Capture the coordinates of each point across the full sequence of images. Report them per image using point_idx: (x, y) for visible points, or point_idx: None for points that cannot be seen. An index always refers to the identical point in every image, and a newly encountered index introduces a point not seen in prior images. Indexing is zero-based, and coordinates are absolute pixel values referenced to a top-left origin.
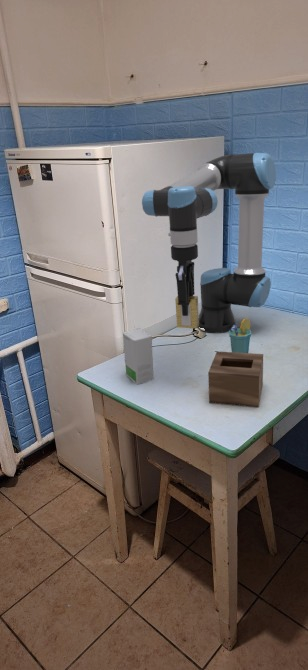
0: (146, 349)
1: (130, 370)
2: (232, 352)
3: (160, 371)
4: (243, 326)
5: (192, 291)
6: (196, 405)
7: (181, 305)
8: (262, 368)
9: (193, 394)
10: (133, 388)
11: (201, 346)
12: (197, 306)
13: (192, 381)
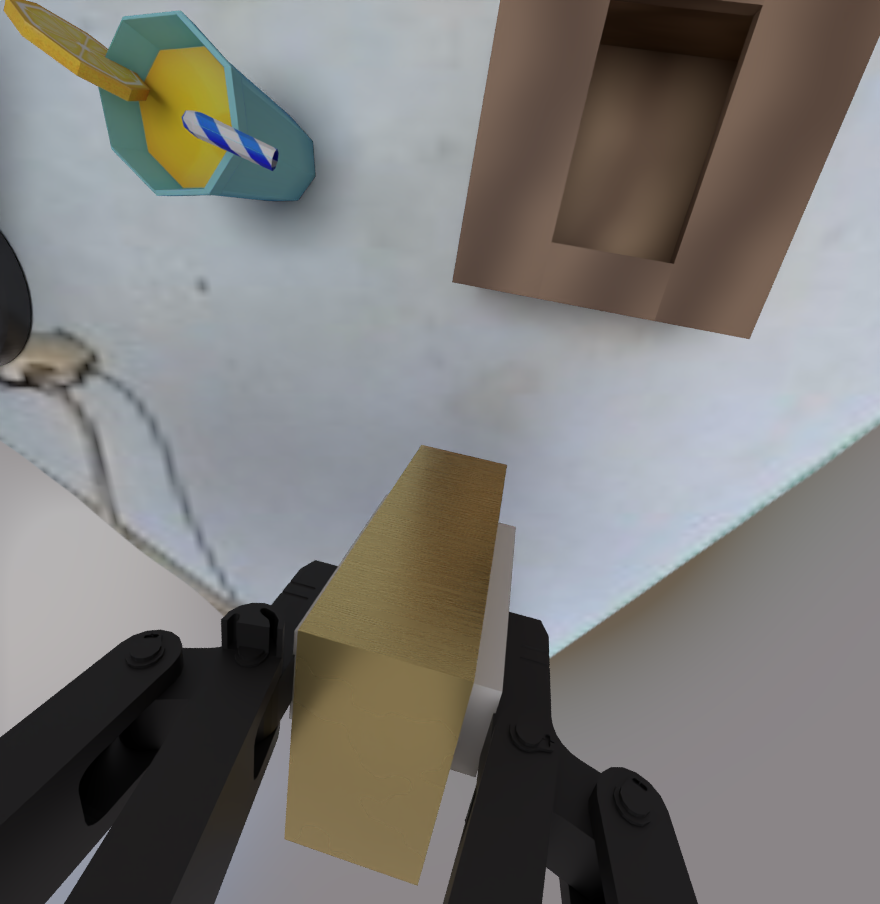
0: None
1: None
2: (474, 170)
3: None
4: (106, 68)
5: (196, 734)
6: (695, 375)
7: (479, 757)
8: None
9: (597, 387)
10: (525, 597)
11: (166, 351)
12: (396, 546)
13: (483, 391)
